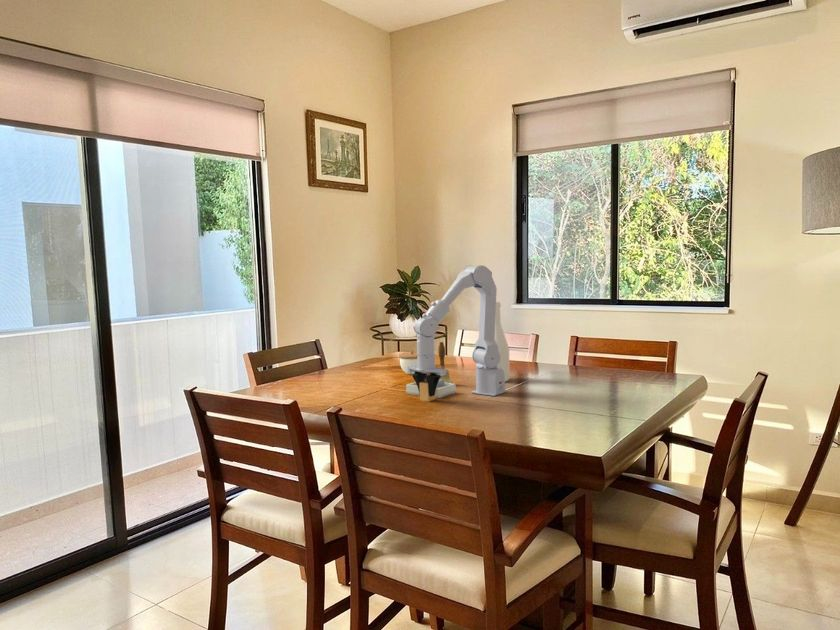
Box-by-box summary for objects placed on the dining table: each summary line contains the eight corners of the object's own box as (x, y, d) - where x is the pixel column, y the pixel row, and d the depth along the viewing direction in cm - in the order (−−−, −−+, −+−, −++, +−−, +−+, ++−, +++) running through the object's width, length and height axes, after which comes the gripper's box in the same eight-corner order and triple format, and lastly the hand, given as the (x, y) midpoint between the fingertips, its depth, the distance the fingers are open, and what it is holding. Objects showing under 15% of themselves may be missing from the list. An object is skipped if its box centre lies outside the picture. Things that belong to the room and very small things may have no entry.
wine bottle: (509, 377, 236) (507, 300, 233) (510, 382, 226) (508, 302, 224) (484, 378, 237) (482, 300, 234) (484, 382, 227) (482, 302, 225)
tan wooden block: (434, 399, 203) (434, 378, 202) (428, 401, 200) (427, 379, 200) (426, 398, 205) (425, 377, 204) (419, 400, 202) (419, 378, 202)
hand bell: (427, 386, 225) (426, 343, 223) (437, 382, 232) (436, 340, 231) (448, 387, 221) (447, 344, 219) (457, 383, 228) (456, 341, 227)
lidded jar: (395, 372, 255) (394, 350, 254) (418, 369, 259) (418, 347, 258) (406, 376, 245) (405, 353, 244) (430, 373, 249) (429, 350, 249)
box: (455, 392, 212) (455, 378, 212) (438, 398, 204) (438, 383, 204) (423, 388, 221) (423, 374, 220) (406, 393, 213) (405, 379, 212)
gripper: (401, 354, 203) (402, 394, 204) (436, 357, 194) (437, 400, 195) (414, 351, 208) (415, 390, 209) (449, 354, 199) (450, 395, 200)
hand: (427, 395), depth 203 cm, fingers closed on tan wooden block, 3 cm apart
